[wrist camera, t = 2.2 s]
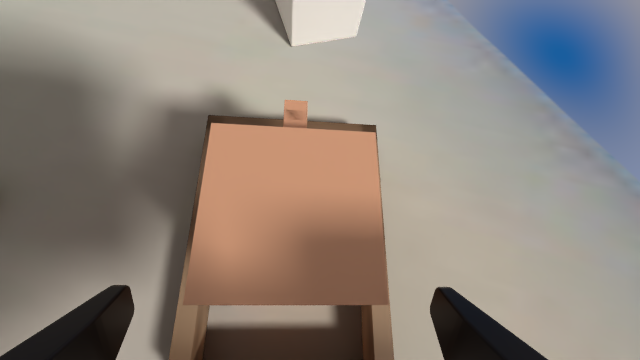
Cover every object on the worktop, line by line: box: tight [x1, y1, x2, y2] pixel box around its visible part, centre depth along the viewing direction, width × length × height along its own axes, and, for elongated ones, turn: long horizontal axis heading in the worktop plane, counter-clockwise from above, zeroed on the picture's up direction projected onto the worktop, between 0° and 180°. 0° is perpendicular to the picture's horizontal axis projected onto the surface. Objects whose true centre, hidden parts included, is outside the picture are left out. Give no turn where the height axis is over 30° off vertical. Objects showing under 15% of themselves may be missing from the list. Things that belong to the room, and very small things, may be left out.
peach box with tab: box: [183, 100, 389, 305], centre depth 15 cm, size 8×6×10 cm
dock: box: [169, 115, 394, 360], centre depth 18 cm, size 15×11×2 cm
